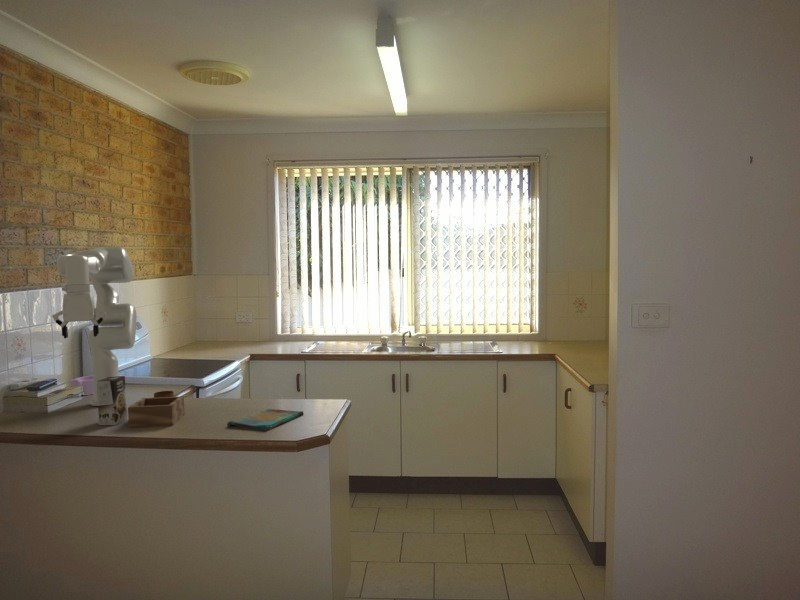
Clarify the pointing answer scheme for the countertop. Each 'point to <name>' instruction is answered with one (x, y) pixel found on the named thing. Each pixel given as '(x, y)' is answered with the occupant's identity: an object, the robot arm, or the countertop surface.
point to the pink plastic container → (84, 384)
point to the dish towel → (265, 419)
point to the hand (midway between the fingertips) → (80, 337)
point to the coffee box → (111, 400)
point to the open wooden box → (156, 411)
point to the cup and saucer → (164, 394)
